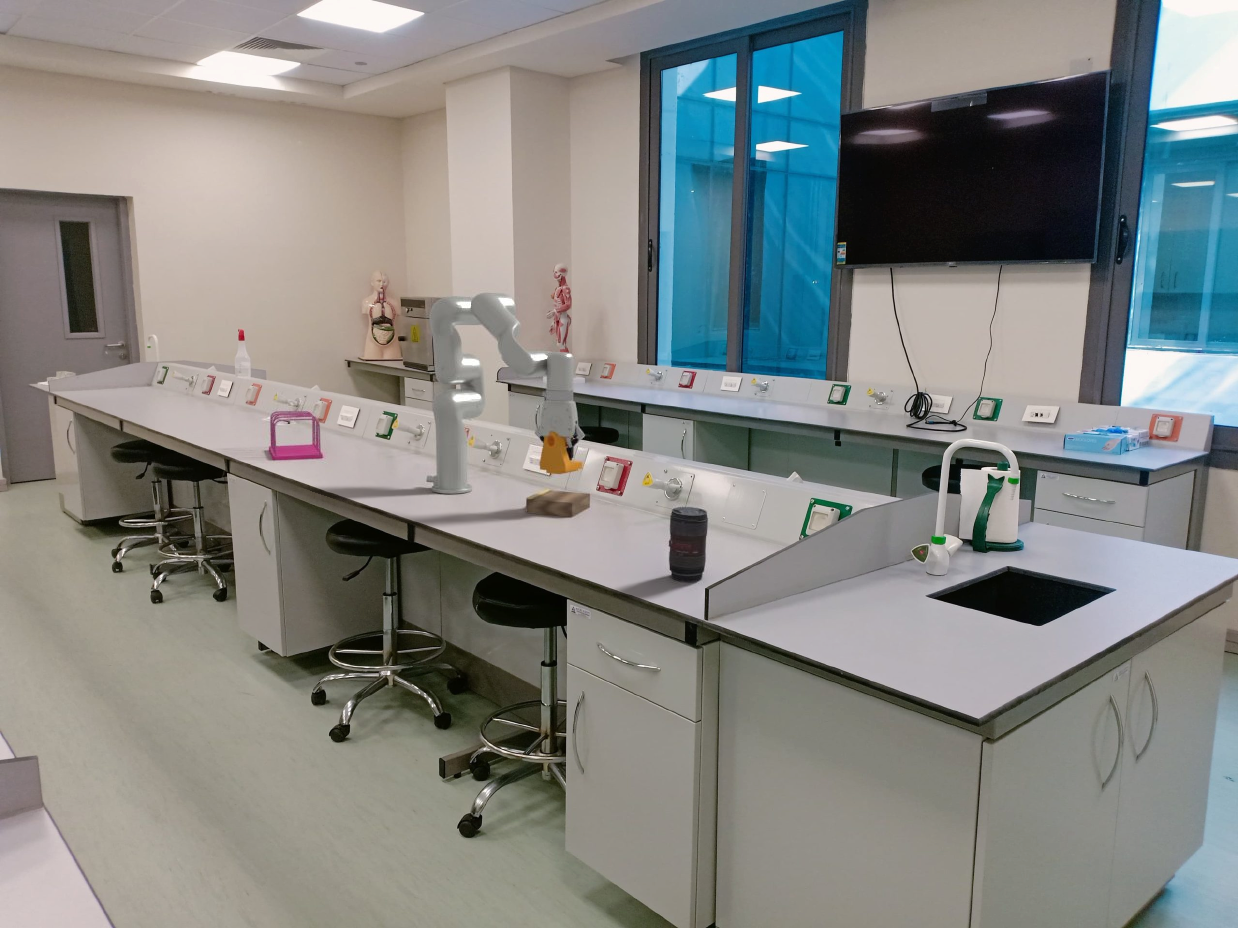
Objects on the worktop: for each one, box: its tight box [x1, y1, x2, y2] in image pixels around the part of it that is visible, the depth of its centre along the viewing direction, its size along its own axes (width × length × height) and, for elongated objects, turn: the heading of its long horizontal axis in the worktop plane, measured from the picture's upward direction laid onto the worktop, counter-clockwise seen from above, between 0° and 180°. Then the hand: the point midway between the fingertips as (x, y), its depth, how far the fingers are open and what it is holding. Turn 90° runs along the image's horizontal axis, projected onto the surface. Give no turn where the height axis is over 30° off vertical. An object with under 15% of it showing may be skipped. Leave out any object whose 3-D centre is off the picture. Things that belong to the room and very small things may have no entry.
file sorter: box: [268, 410, 324, 461], centre depth 343 cm, size 17×25×16 cm
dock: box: [525, 488, 591, 518], centre depth 259 cm, size 14×14×4 cm
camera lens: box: [668, 506, 709, 583], centre depth 195 cm, size 8×8×15 cm
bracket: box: [539, 431, 584, 475], centre depth 257 cm, size 11×7×12 cm, turn 46°
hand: (559, 459), depth 257 cm, fingers closed on bracket, 5 cm apart
